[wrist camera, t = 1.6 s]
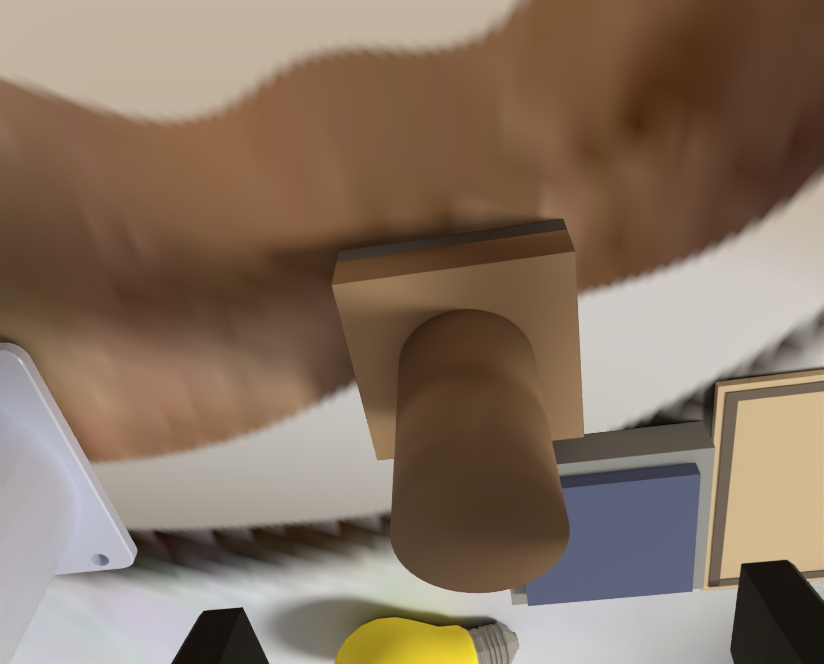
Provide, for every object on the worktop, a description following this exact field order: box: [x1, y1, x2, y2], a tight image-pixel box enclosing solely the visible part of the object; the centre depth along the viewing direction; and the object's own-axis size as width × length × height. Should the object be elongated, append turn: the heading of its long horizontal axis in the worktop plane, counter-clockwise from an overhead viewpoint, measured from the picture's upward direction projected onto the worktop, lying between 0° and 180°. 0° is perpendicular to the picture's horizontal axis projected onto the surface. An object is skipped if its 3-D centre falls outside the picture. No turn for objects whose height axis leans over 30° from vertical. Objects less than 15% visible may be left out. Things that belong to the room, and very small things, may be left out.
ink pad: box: [510, 421, 715, 606], centre depth 20 cm, size 6×6×1 cm
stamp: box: [332, 219, 584, 593], centre depth 15 cm, size 5×5×6 cm
